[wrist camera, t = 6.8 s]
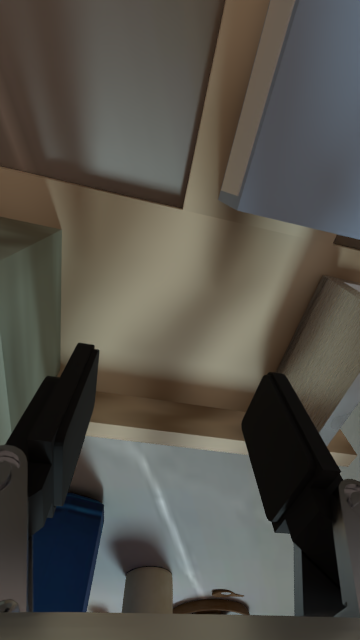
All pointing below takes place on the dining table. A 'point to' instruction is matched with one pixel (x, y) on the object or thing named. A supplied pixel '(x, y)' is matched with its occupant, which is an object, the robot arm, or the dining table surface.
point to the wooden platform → (160, 285)
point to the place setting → (212, 605)
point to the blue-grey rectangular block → (301, 120)
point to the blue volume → (67, 555)
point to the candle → (148, 591)
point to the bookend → (327, 355)
